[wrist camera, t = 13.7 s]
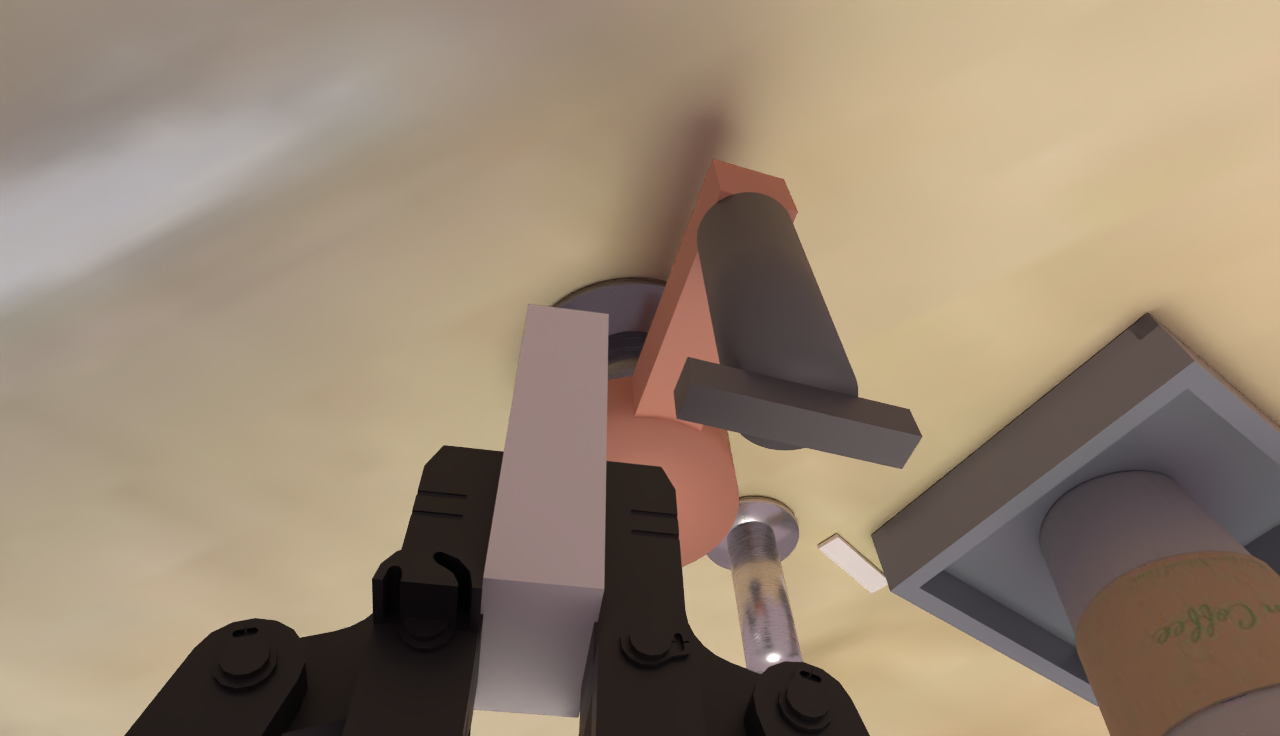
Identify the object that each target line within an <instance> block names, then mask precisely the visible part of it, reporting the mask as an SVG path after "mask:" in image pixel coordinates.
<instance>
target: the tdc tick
mask: <svg viewBox="0 0 1280 736" xmlns="http://www.w3.org/2000/svg"><path fill="white" fill-rule="evenodd" d="M818 548H819V550H821V551H822V552H823V553H824V554H825V555H827V556H828V557H829V558H830V559H831V560H832V561H834V562H835V563H836V564H837V565H838V566H840V567H841V568H842V569H843V570H844V571H846V572H847V573H848V574H849V575H850V576H852V577H853V578H854V579H855V580H856V581H857V582H859V583H860V584H861V585H862V586H863V587H865V588H866V589H867V590H868V591H869V592H871V593H874V592H875V591H877V590H879V589H881V588H882V587H884V586H886V585H888V583H887V580H886V577H885V575H884V574H883V573H882V572H881V571H879V570H878V569H877V568H876V567H875V566H874V565H873V564H871V563H870V562H869V561H868V560H867V559H866V558H864V557H863V556H862V555H861V554H860V553H859V552H858V551H856V550H855V549H854V548H853V547H852V546H851V545H849V544H848V543H847V542H846V541H845V540H844V539H842V538H841V537H840V536H839V535H838V534H835V535H834V536H832V537H831V538H829V539H827V540H826V541H824V542H822V543H821V544H819V545H818Z"/></svg>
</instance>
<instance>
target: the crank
mask: <svg viewBox="0 0 1280 736" xmlns="http://www.w3.org/2000/svg"><path fill="white" fill-rule="evenodd" d="M797 213H798V211H797V209H796V206H795V204H794V202H793V199H792V197H791V195H790V192H789V190H788V188H787V185H786V183H785V181H784V179H781V178H777V177H774V176H770V175H767V174H763V173H760V172H756V171H753V170H750V169H746V168H743V167H739V166H736V165H732V164H729V163H725V162H722V161H718V160H715V159H712V161H711V164H710V167H709V170H708V172H707V175H706V178H705V180H704V183H703V186H702V189H701V191H700V194H699V197H698V199H697V202H696V205H695V208H694V210H693V213H692V216H691V218H690V221H689V224H688V226H687V229H686V232H685V235H684V237H683V240H682V243H681V245H680V248H679V251H678V254H677V256H676V259H675V262H674V264H673V267H672V270H671V272H670V275H669V278H668V281H667V283H666V286H665V289H664V291H663V294H662V297H661V300H660V302H659V305H658V308H657V310H656V313H655V316H654V319H653V321H652V324H651V327H650V329H649V332H648V335H647V337H646V340H645V343H644V346H643V348H642V351H641V354H640V356H639V359H638V362H637V365H636V367H635V370H634V373H633V375H632V377H622V378H616V379H611V380H608V388H607V451H606V461H613V462H622V463H632V464H641V465H650V466H660V467H662V468H663V470H664V472H665V473H666V475H667V476H668V478H669V480H670V481H671V483H672V485H673V486H674V488H675V489H676V500H677V513H678V515H677V519H678V525H679V539H680V550H681V563H682V567H683V566H685V565H687V564H690V563H692V562H694V561H696V560H698V559H699V558H701V557H703V556H704V555H706V554H707V553H709V552H710V551H711V550H713V549H714V548H715V547H716V546H717V545H718V544H719V543H720V542H721V541H722V540H723V539H724V537H725V536H726V535H727V534H728V532H729V531H730V529H731V527H732V526H733V523H734V521H735V519H736V516H737V512H738V507H739V492H738V485H737V480H736V475H735V469H734V464H733V458H732V453H731V447H730V442H729V437H728V432H727V430H729V431H734V432H738V433H740V434H741V435H742V436H744V437H745V438H746V439H747V440H749V441H751V442H753V443H754V444H757V445H759V446H762V447H765V448H769V449H775V450H795V449H802V448H810V449H814V450H819V451H823V452H828V453H832V454H837V455H841V456H846V457H850V458H855V459H859V460H864V461H868V462H873V463H877V464H882V465H886V466H891V467H895V468H900V469H902V468H903V467H904V465H905V463H906V462H907V460H908V459H909V457H910V455H911V454H912V452H913V451H914V449H915V448H916V446H917V444H918V443H919V441H920V440H921V438H922V435H921V433H920V431H919V429H918V426H917V424H916V422H915V420H914V418H913V416H912V414H911V412H910V409H906V408H901V407H897V406H893V405H889V404H885V403H880V402H876V401H872V400H868V399H864V398H859V397H858V385H857V381H856V378H855V375H854V373H853V370H852V368H851V365H850V363H849V360H848V358H847V356H846V353H845V351H844V348H843V346H842V343H841V341H840V338H839V336H838V333H837V331H836V328H835V326H834V324H833V321H832V319H831V316H830V314H829V311H828V309H827V306H826V304H825V301H824V299H823V296H822V294H821V292H820V289H819V287H818V284H817V282H816V279H815V277H814V274H813V272H812V269H811V267H810V264H809V262H808V260H807V257H806V255H805V252H804V250H803V247H802V245H801V242H800V240H799V237H798V235H797V232H796V230H795V228H794V225H793V222H794V219H795V217H796V215H797Z"/></svg>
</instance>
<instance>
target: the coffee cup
mask: <svg viewBox="0 0 1280 736" xmlns="http://www.w3.org/2000/svg"><path fill="white" fill-rule="evenodd" d="M1040 545H1041V550H1042V554H1043V557H1044V559H1045V562H1046V564H1047V567H1048V569H1049V572H1050V574H1051V577H1052V579H1053V582H1054V584H1055V587H1056V589H1057V592H1058V594H1059V597H1060V599H1061V602H1062V604H1063V607H1064V609H1065V612H1066V614H1067V617H1068V619H1069V622H1070V624H1071V627H1072V629H1073V632H1074V634H1075V637H1076V639H1075V642H1076V647H1077V653H1078V655H1079V658H1080V660H1081V663H1082V665H1083V668H1084V670H1085V673H1086V675H1087V678H1088V680H1089V683H1090V685H1091V688H1092V690H1093V693H1094V695H1095V698H1096V700H1097V703H1098V705H1099V708H1100V710H1101V713H1102V715H1103V718H1104V720H1105V723H1106V725H1107V728H1108V730H1109V733H1110V735H1111V736H1280V576H1279V575H1278V574H1277V573H1276V572H1275V571H1274V570H1273V569H1272V568H1271V567H1270V566H1269V565H1268V564H1266V563H1265V562H1263V561H1262V560H1260V559H1258V558H1256V557H1254V556H1252V555H1251V554H1250V553H1249V552H1248V551H1247V550H1246V549H1245V548H1244V547H1243V546H1242V545H1241V544H1240V543H1239V542H1238V541H1237V540H1236V539H1235V538H1234V537H1233V536H1232V535H1231V534H1230V533H1229V532H1228V531H1227V530H1225V529H1224V528H1223V527H1222V526H1221V525H1220V524H1219V523H1218V522H1217V521H1216V520H1215V519H1214V518H1213V517H1212V516H1211V515H1210V514H1209V513H1208V512H1207V511H1206V510H1205V509H1204V508H1203V507H1202V506H1201V505H1200V504H1199V503H1198V502H1197V501H1196V500H1195V499H1194V498H1193V497H1192V496H1191V495H1190V494H1189V493H1188V492H1187V491H1186V490H1185V489H1184V488H1183V487H1182V486H1181V485H1180V484H1179V483H1177V482H1176V481H1175V480H1173V479H1171V478H1169V477H1168V476H1166V475H1163V474H1159V473H1155V472H1147V471H1126V472H1119V473H1113V474H1108V475H1104V476H1101V477H1098V478H1094V479H1092V480H1089V481H1087V482H1085V483H1083V484H1080V485H1078V486H1077V487H1075V488H1074V489H1072V490H1070V491H1069V492H1067V493H1066V494H1065V495H1064V496H1063V497H1061V498H1060V499H1059V500H1058V501H1057V502H1056V503H1055V504H1054V506H1053V507H1052V508H1051V509H1050V511H1049V513H1048V514H1047V516H1046V518H1045V520H1044V522H1043V525H1042V528H1041V532H1040Z"/></svg>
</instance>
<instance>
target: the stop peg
mask: <svg viewBox="0 0 1280 736" xmlns="http://www.w3.org/2000/svg"><path fill="white" fill-rule="evenodd" d="M798 538H799V529H798V525H797V521H796V518H795V516H794V514H793V513H792V511H791V510H790V509H789V508H788V507H787V506H785V505H784V504H782V503H781V502H779V501H776V500H774V499H770V498H766V497H755V496H752V497H743V498H739V507H738V512H737V516H736V519H735V521H734V523H733V526H732V527H731V529H730V531H729V532H728V534H727V535H726V536H725V537H724V539H723V540H722V541H721V542H720V543H719V544H718V545H717V546H716V547H715V548H714V549H713V550H711V551H710V552H709V553H707V556H708V557H709V558H710V559H711V560H712V561H713V562H715V563H716V564H718V565H719V566H721V567H724V568H726V569H730V570H731V571H732V578H733V584H734V591H735V597H736V603H737V610H738V616H739V622H740V629H741V635H742V641H743V648H744V654H745V661H746V667H747V669H748V670H751V671H754V672H756V673H759V674H762V673H763V672H764V671H765V670H766V669H767V668H768V667H770V666H773V665H775V664H778V663H781V662H784V661H790V662H803V661H802V656H801V652H800V647H799V642H798V638H797V633H796V629H795V624H794V620H793V615H792V611H791V606H790V602H789V597H788V593H787V588H786V583H785V579H784V574H783V570H782V565H781V561H783V560H784V559H785V558H786V557H788V556H789V555H790V554H791V552H792V551H793V550H794V548H795V547H796V545H797V542H798Z"/></svg>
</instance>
